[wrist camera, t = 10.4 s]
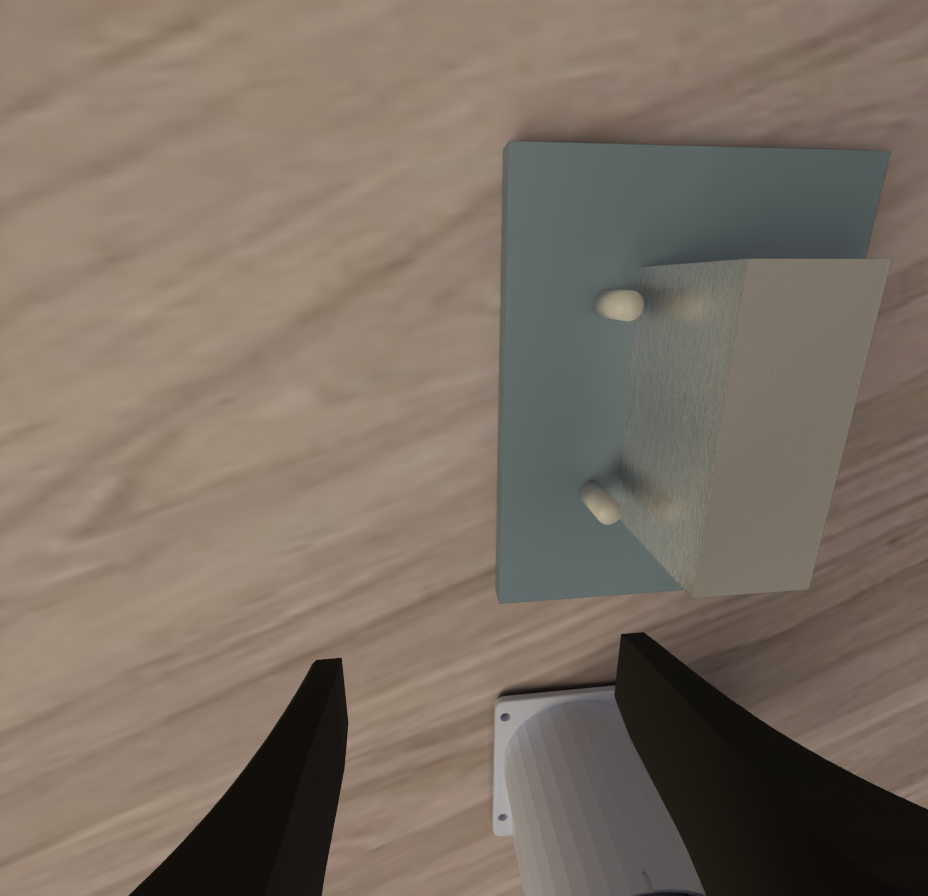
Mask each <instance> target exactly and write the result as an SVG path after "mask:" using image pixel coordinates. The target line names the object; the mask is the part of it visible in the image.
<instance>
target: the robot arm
mask: <svg viewBox="0 0 928 896" xmlns="http://www.w3.org/2000/svg"><path fill="white" fill-rule="evenodd" d="M505 713H507V714H506V715H502V714H505ZM347 732H348V715H347V705H346V696H345V686H344V676H343V666H342V658H334V659H322V660H316V661H315V662H314V663H313V664H312V666H311V667H310V669H309V671H308V673H307V675H306V677H305V678H304V680H303V682H302V684H301V685H300V687H299V689H298V691H297V692H296V694H295V696H294V697H293V699H292V700H291V702H290V704H289V705H288V707H287V708H286V710H285V712H284V713H283V715H282V716H281V718H280V719H279V721H278V722H277V724H276V725H275V727H274V728H273V730H272V731H271V733H270V734H269V736H268V737H267V739H266V740H265V741H264V743H263V744H262V746H261V747H260V748H259V750H258V751H257V752H256V754H255V755H254V757H253V758H252V759H251V761H250V762H249V763H248V765H247V766H246V767H245V769H244V770H243V771H242V773H241V774H240V775H239V777H238V778H237V779H236V780H235V782H234V783H233V784H232V785H231V787H230V788H229V789H228V790H227V792H226V793H225V794H224V795H223V796H222V798H221V799H220V800H219V801H218V802H217V804H216V805H215V806H214V807H213V808H212V810H211V811H210V812H209V813H208V814H207V815H206V816H205V818H204V819H203V820H202V821H201V822H200V823H199V824H198V825H197V826H196V827H195V829H194V830H193V831H192V832H191V833H190V834H189V835H188V836H187V837H186V838H185V840H184V841H183V842H182V843H181V844H180V845H179V846H178V847H177V848H176V849H175V850H174V851H173V852H172V853H171V854H170V855H169V856H168V858H167V859H166V860H165V861H164V862H163V863H162V864H161V865H160V866H159V867H158V868H157V869H155V870H154V871H153V872H152V873H151V874H150V875H149V876H148V877H147V878H146V879H145V880H144V881H143V882H142V883H141V884H140V885H139V886H138V887H137V888H136V889H135V890H134V891H133V892H132V893H131V894H130V895H129V896H322V890H323V883H324V876H325V871H326V865H327V860H328V854H329V849H330V844H331V838H332V833H333V827H334V822H335V817H336V811H337V806H338V801H339V795H340V790H341V784H342V779H343V773H344V767H345V756H346V745H347ZM492 826H493V832H494V834H495V835H497V836H508V835H512V836H513V841H514V846H515V852H516V857H517V862H518V867H519V872H520V877H521V882H522V887H523V892H524V896H928V809H926V808H923V807H921V806H919V805H917V804H914V803H912V802H910V801H908V800H906V799H904V798H901V797H899V796H897V795H895V794H893V793H891V792H888V791H886V790H884V789H882V788H880V787H878V786H876V785H874V784H872V783H870V782H868V781H866V780H864V779H862V778H860V777H858V776H856V775H854V774H852V773H850V772H849V771H847V770H845V769H843V768H841V767H839V766H837V765H835V764H833V763H832V762H830V761H828V760H826V759H824V758H822V757H821V756H819V755H817V754H815V753H814V752H812V751H810V750H808V749H806V748H805V747H803V746H801V745H800V744H798V743H797V742H795V741H793V740H792V739H790V738H788V737H787V736H785V735H783V734H782V733H780V732H778V731H777V730H775V729H774V728H772V727H771V726H769V725H767V724H766V723H764V722H763V721H761V720H760V719H758V718H757V717H755V716H754V715H752V714H751V713H750V712H748V711H747V710H745V709H744V708H742V707H741V706H739V705H738V704H737V703H735V702H734V701H732V700H731V699H730V698H728V697H727V696H725V695H724V694H723V693H721V692H720V691H719V690H717V689H716V688H715V687H713V686H712V685H711V684H709V683H708V682H707V681H705V680H704V679H703V678H701V677H700V676H699V675H697V674H696V673H695V672H694V671H692V670H691V669H690V668H688V667H687V666H686V665H685V664H683V663H682V662H681V661H680V660H678V659H677V658H676V657H675V656H673V655H672V654H671V653H670V652H668V651H667V650H666V649H664V648H663V647H662V646H661V645H659V644H658V643H657V642H656V641H654V640H653V639H652V638H650V637H649V636H648V635H646V634H645V633H644V632H641V633H629V634H621V641H620V650H619V658H618V667H617V676H616V684H615V685H614V686H604V687H593V688H583V689H573V690H562V691H552V692H542V693H531V694H521V695H510V696H503V697H500V698H498V699H497V700H496V702H495V705H494V759H493V814H492Z"/></svg>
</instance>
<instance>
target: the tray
mask: <svg viewBox="0 0 928 896" xmlns="http://www.w3.org/2000/svg"><path fill="white" fill-rule="evenodd" d="M889 155H890V151H867V150H829V149H791V148H753V147H715V146H677V145H639V144H601V143H564V142H526V141H509V142H508V143H507V145H506V146H505V147H504V149H503V194H502V251H501V308H500V365H499V422H498V480H497V537H496V594H497V597H498V601H499V604H504V603H517V602H531V601H544V600H557V599H570V598H583V597H597V596H610V595H623V594H636V593H649V592H663V591H676V590H684V589H683V588H682V587H681V585H680V584H679V583H678V582H677V581H676V580H675V579H674V578H673V577H672V576H671V575H670V574H669V572H668V571H667V570H666V569H665V568H664V567H663V566H662V565H661V564H660V563H659V562H658V560H657V559H656V558H655V557H654V556H653V555H652V554H651V553H650V552H649V551H648V550H647V549H646V547H645V546H644V545H643V544H642V543H641V542H640V541H639V540H638V539H637V538H636V537H635V536H634V534H633V533H632V532H631V531H630V530H629V529H628V528H627V527H626V526H625V525H624V524H623V522H622V521H621V520H620V519H619V518H620V517H621V514H622V508H621V506H620V504H619V503H618V502H617V493H618V483H619V474H620V464H621V454H622V444H623V434H624V425H625V415H626V405H627V395H628V385H629V376H630V366H631V356H632V346H633V336H634V327H635V319H636V318H638V317H639V316H640V314H641V313H642V310H643V307H644V301H643V298H642V296H641V295H640V294H639V293H638V287H639V278H640V268H641V267H649V266H662V265H675V264H688V263H700V262H713V261H726V260H739V259H865V258H866V253H867V249H868V245H869V241H870V236H871V232H872V228H873V224H874V219H875V215H876V211H877V207H878V202H879V198H880V194H881V190H882V185H883V181H884V177H885V173H886V168H887V164H888V160H889Z"/></svg>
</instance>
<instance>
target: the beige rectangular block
mask: <svg viewBox="0 0 928 896" xmlns="http://www.w3.org/2000/svg"><path fill="white" fill-rule="evenodd" d="M891 261H892V259H739V260H726V261H713V262H700V263H688V264H675V265H662V266H649V267H641V268H640V278H639V287H638V293H639V294H640V295H641V296H642V298H643V301H644V307H643V310H642V313H641V314H640V316H639V317H638V318H636V319H635V327H634V336H633V346H632V356H631V366H630V376H629V385H628V395H627V405H626V415H625V425H624V434H623V444H622V454H621V464H620V474H619V483H618V493H617V502H618V503H619V504H620V506H621V508H622V514H621V517H620V518H619V519H620V520H621V521H622V522H623V524H624V525H625V526H626V527H627V528H628V529H629V530H630V531H631V532H632V533H633V534H634V536H635V537H636V538H637V539H638V540H639V541H640V542H641V543H642V544H643V545H644V546H645V547H646V549H647V550H648V551H649V552H650V553H651V554H652V555H653V556H654V557H655V558H656V559H657V560H658V562H659V563H660V564H661V565H662V566H663V567H664V568H665V569H666V570H667V571H668V572H669V574H670V575H671V576H672V577H673V578H674V579H675V580H676V581H677V582H678V583H679V584H680V585H681V587H682V588H683V589H684V590H685V591H686V592H687V593H688V594H689V595H690V596H691V597H692V598H702V597H715V596H728V595H741V594H754V593H767V592H780V591H793V590H807V589H809V587H810V583H811V579H812V575H813V571H814V567H815V563H816V559H817V555H818V551H819V547H820V543H821V539H822V535H823V531H824V527H825V523H826V519H827V515H828V511H829V507H830V503H831V499H832V495H833V491H834V487H835V483H836V479H837V475H838V471H839V467H840V463H841V459H842V455H843V451H844V447H845V443H846V439H847V435H848V432H849V428H850V424H851V420H852V416H853V412H854V408H855V404H856V400H857V396H858V392H859V388H860V384H861V380H862V376H863V372H864V368H865V364H866V360H867V356H868V352H869V348H870V344H871V340H872V336H873V332H874V328H875V324H876V320H877V316H878V312H879V308H880V304H881V300H882V296H883V292H884V288H885V284H886V280H887V276H888V273H889V269H890V265H891Z"/></svg>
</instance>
